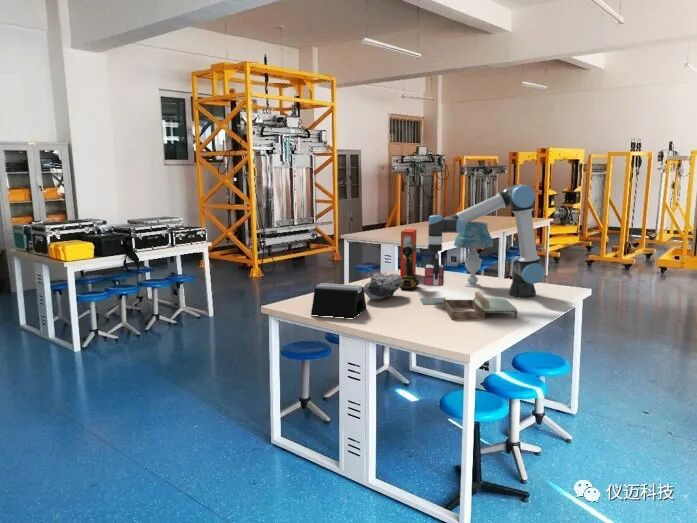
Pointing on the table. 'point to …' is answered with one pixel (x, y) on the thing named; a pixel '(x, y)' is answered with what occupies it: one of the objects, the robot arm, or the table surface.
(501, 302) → the lid
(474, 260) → the table lamp
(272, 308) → the table surface
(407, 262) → the impact wrench
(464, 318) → the wooden frame
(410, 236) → the file binder
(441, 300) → the mat
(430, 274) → the puzzle cube
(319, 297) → the device stand
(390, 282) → the mineral sample
